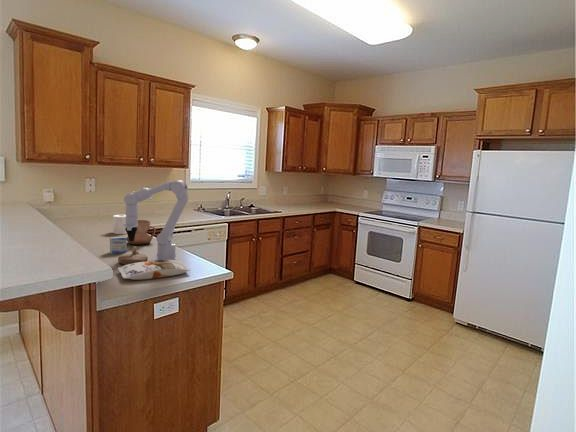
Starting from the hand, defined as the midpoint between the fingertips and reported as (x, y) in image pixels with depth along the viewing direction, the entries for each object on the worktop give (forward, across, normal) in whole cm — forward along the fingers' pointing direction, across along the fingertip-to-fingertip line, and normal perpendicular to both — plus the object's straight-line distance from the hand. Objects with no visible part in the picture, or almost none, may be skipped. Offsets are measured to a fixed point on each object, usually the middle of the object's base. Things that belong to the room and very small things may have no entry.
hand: (131, 241), depth 188 cm
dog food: (+10, +26, +14) cm, 31 cm away
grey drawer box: (+9, -1, +2) cm, 10 cm away
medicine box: (+10, -12, -9) cm, 18 cm away
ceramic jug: (+10, -33, 0) cm, 35 cm away
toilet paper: (+10, -64, -17) cm, 67 cm away
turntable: (+8, +8, +2) cm, 12 cm away
